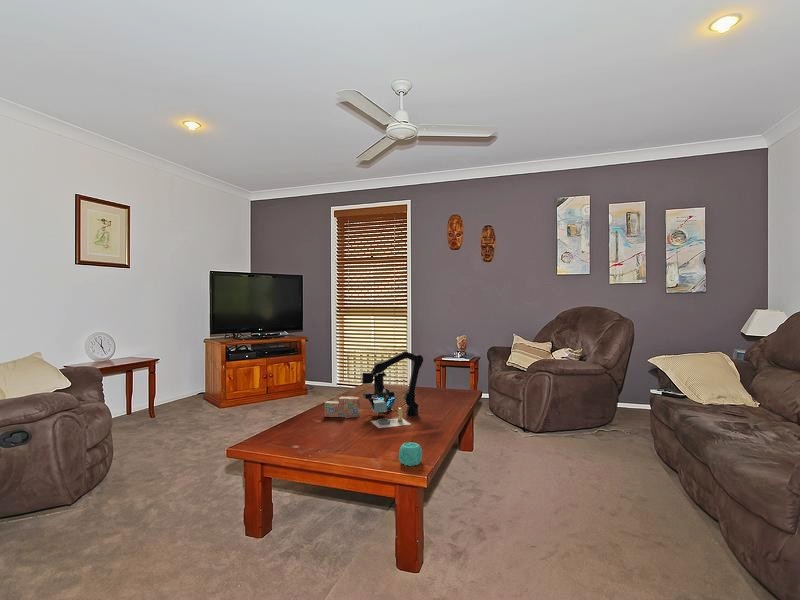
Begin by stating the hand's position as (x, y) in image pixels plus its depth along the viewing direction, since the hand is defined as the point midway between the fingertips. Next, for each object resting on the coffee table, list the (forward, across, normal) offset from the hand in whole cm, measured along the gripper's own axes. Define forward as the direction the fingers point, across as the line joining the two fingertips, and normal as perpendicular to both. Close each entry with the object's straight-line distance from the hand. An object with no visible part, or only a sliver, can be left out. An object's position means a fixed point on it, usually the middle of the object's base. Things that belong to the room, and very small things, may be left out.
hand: (378, 408), depth 270 cm
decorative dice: (+7, -10, -75) cm, 76 cm away
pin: (+5, +8, -16) cm, 18 cm away
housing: (+1, 0, 0) cm, 1 cm away
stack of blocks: (+7, -20, +13) cm, 25 cm away
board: (+6, +2, -16) cm, 17 cm away
